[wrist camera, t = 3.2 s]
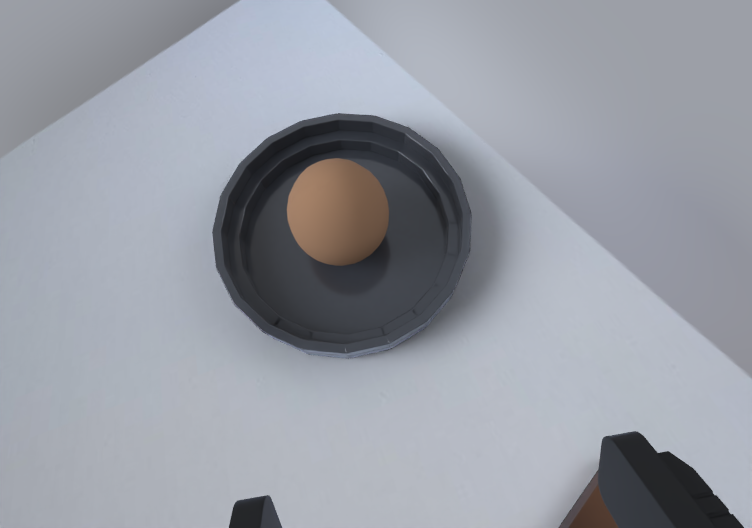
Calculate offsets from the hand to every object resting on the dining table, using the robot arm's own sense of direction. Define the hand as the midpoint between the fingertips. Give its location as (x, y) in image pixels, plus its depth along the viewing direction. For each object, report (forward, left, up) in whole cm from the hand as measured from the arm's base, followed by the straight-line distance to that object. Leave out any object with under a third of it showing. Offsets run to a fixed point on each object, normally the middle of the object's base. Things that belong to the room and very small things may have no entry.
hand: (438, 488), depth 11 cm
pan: (-7, -13, -18) cm, 23 cm away
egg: (-7, -13, -18) cm, 23 cm away
